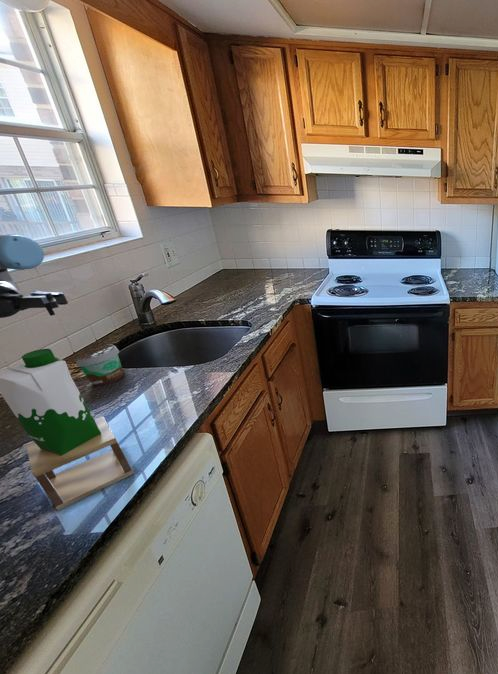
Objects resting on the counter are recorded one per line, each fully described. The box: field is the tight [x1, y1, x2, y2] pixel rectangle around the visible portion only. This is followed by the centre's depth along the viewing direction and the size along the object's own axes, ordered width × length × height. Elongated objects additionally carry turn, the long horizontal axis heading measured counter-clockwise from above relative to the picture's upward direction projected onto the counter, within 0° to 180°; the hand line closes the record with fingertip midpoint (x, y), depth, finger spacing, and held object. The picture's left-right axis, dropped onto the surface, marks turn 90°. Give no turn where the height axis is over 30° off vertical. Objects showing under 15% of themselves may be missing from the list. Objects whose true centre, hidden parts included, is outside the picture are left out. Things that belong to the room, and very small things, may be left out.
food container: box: [75, 343, 125, 387], centre depth 119 cm, size 12×6×10 cm, turn 0°
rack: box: [25, 415, 135, 511], centre depth 79 cm, size 12×12×10 cm
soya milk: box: [0, 348, 101, 456], centre depth 73 cm, size 9×9×20 cm
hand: (1, 319), depth 71 cm, fingers open, 13 cm apart
